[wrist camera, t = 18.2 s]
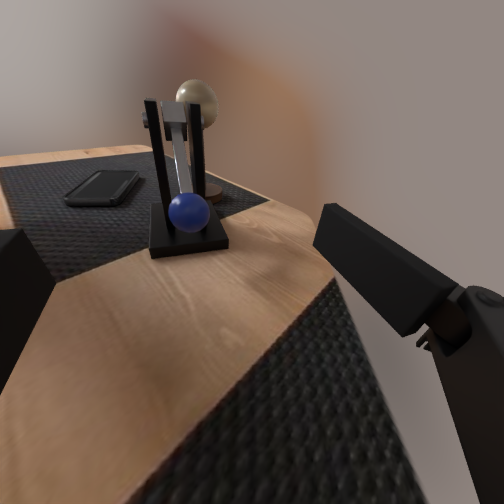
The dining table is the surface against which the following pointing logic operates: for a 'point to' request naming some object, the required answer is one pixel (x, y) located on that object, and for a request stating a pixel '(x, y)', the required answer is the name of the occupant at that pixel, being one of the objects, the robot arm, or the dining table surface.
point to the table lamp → (209, 111)
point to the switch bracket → (161, 228)
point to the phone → (102, 188)
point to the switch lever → (183, 173)
